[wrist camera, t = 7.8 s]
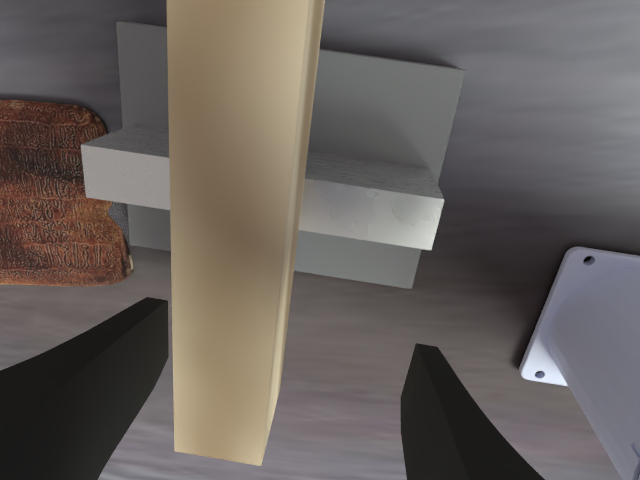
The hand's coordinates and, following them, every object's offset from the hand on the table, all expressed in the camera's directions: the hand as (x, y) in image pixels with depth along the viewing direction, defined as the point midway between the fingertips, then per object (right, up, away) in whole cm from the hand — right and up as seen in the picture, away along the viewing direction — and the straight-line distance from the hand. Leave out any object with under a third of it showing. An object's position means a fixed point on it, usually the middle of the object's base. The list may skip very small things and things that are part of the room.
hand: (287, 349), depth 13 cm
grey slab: (-1, +7, +8) cm, 11 cm away
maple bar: (-1, +4, +4) cm, 6 cm away
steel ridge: (-1, +6, +7) cm, 9 cm away
